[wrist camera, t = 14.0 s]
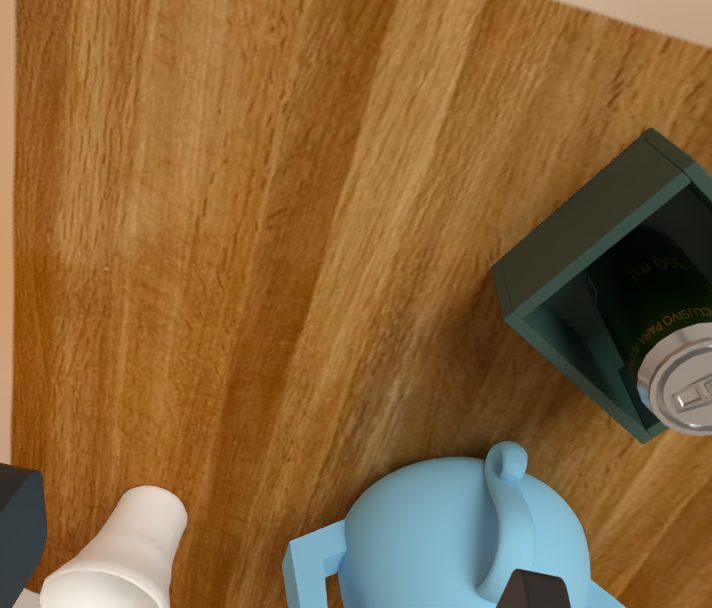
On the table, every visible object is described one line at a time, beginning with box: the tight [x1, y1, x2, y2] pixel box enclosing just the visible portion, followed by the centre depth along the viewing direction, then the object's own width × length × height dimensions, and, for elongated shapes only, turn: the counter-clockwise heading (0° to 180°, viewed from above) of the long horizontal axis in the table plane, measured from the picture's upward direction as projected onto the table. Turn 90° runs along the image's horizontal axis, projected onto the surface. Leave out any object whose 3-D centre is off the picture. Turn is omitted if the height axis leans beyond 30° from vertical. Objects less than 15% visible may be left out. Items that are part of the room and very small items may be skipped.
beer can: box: [587, 230, 712, 436], centre depth 32 cm, size 5×5×12 cm
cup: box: [39, 485, 188, 608], centre depth 47 cm, size 9×9×10 cm
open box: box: [492, 127, 712, 444], centre depth 35 cm, size 11×11×6 cm
